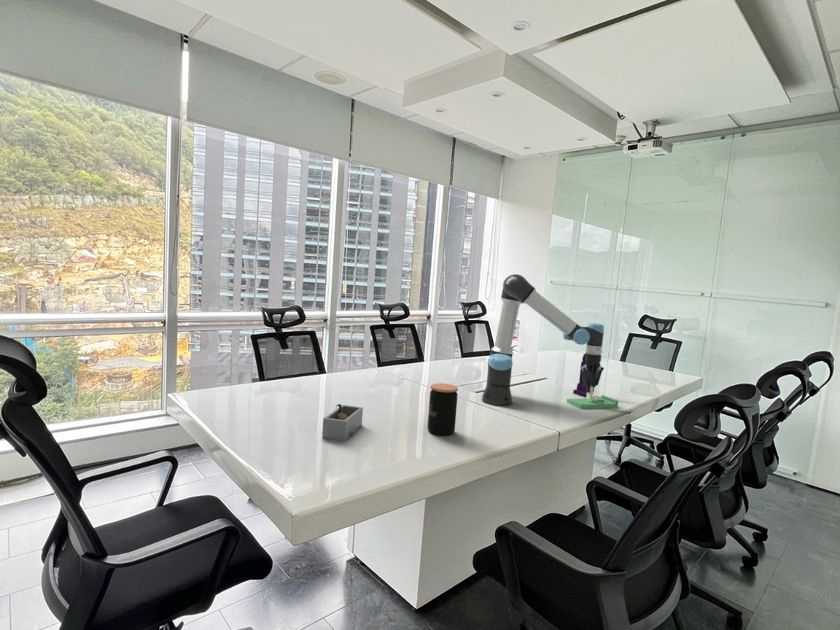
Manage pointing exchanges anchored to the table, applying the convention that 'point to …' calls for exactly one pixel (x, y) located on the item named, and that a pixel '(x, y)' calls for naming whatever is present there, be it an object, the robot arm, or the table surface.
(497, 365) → the robot arm
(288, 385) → the table surface
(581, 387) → the building model
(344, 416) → the figurine
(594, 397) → the ball
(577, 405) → the green
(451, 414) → the coffee jar
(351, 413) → the open storage box
